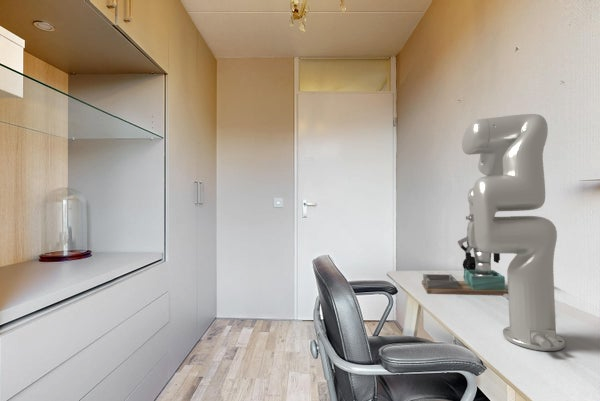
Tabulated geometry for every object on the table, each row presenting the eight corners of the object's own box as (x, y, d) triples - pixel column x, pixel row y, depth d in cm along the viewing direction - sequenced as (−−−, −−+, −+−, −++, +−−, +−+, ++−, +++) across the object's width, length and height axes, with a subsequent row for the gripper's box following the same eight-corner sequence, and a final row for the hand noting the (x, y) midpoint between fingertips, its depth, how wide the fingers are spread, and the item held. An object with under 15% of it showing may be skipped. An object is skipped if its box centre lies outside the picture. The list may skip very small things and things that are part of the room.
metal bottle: (493, 284, 123) (491, 234, 124) (493, 289, 118) (491, 236, 118) (475, 283, 127) (472, 234, 127) (474, 287, 121) (471, 235, 121)
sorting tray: (508, 295, 114) (507, 277, 114) (427, 293, 121) (426, 276, 121) (494, 285, 128) (493, 269, 128) (421, 283, 134) (421, 268, 134)
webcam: (465, 280, 136) (464, 258, 136) (461, 276, 143) (460, 254, 144) (485, 281, 134) (484, 258, 134) (480, 277, 141) (479, 255, 141)
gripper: (459, 220, 121) (461, 264, 121) (509, 218, 117) (511, 264, 117) (454, 218, 128) (456, 260, 128) (501, 217, 124) (503, 260, 124)
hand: (482, 262), depth 122 cm, fingers open, 9 cm apart
